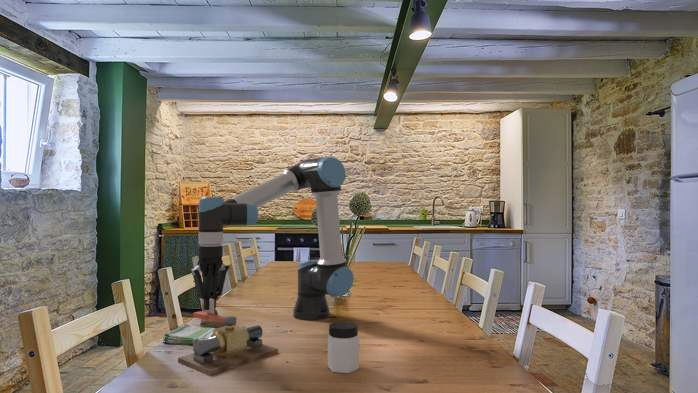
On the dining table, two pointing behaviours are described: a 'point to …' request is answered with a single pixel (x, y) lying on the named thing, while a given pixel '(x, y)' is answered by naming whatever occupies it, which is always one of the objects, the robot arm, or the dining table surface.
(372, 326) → the dining table surface
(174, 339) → the dish towel
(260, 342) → the valve body
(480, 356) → the dining table surface
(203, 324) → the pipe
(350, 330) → the jar
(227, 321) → the lever
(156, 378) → the dining table surface
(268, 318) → the dining table surface
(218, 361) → the mount board
